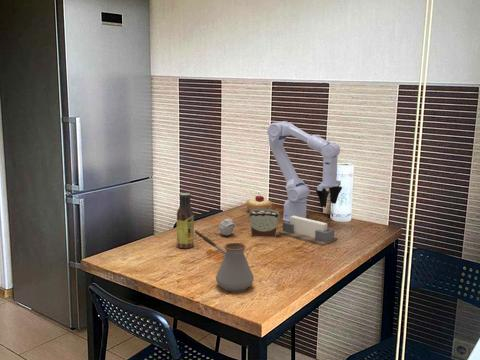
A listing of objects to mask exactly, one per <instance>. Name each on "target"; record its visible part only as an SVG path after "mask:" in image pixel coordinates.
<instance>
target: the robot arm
mask: <svg viewBox="0 0 480 360" xmlns="http://www.w3.org/2000/svg"><path fill="white" fill-rule="evenodd" d="M266 134H267V135H268V144H269V148H270V151H271V152H272V155H273V157H274V159H275V161H276V164H277V165H278V168H279V169H280V171H281V173H282V175H283V177H284V180H285V181H286V186H285V189H286V196H287V199H286V200H285V202H283V203H284V204H283V218H282V221H284V222H286V221H289V220H290V217H291V216H298V217H302V218H306V219H307V203H308V202H307V200H308V197H309V196H310V193H311V192H310V191H311V190H310V187H308V185H307V184H306V183H305V181H304V180H303V179H301V178H300V177H299V176H298V174H297V172H296V169H295V167H294V165H293V163H292V161H291V159H290V157H289V155H288V153H287V151H286V149H285V147H284V143H285V141H286V139H287V138H288V136H292V137H294V138H296V139H298V140H300V141H302V142H304V143H306V144H307V146H308V148H309V149H312V150H314V151H315V152H318V153H319V154H320V155H321V156H322V157H323V159H322V179H321V180H322V181H321V183H319V184H318V185H316V188H315V192H316V194H317V196H318V200H319V204H320V207H323V208H326V207H327V202H328V197H329V196H330V197H329V198H330V203H331V204H335V205H336V204H337V200H338V197H339V195H340V193H341V191H343V186H341V183H342V181H341V180H338V179H337V177H338V156H339V154H340V153H341V148H340V146H339V144H337V143H336V142H331V141H330V140H326V139H324V138H322V137H321V135H320V134H313V135H310V134H309V133H307V132H306V131H304V130H302V129H301V128H299V127H297V126H295V125H294V124H293V123H291V122H288V121H287V120H283V121H278V122H272V123H270V124H269V126H268V128H267V130H266ZM327 189H329V190H327Z"/></svg>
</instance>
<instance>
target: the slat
mask: <svg viewBox="0 0 480 360" xmlns="http://www.w3.org/2000/svg"><path fill="white" fill-rule="evenodd" d="M290 224H294V232H295V233H298V234H302V235H306V236H310V237H314V238H315V231H316V230H318V231H322V232H326V231H327V228H328V223H327V222H322V221H318V220H313V219H310V218H307V217H306V218H302V217H298V216H291V217H290Z"/></svg>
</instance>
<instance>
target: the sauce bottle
mask: <svg viewBox="0 0 480 360" xmlns="http://www.w3.org/2000/svg"><path fill="white" fill-rule="evenodd" d="M191 197H192V195H191V193H189V192H181V193H179V207H178V208H177V211H176V245H177V248H179V249H190V248H192V247H193V246H194V241H195V240H194V239H195V236H194V235H195V233H194V232H195V231H194V230H195V229H194V228H195V226H194V225H195V221H194V219H195V214H194V212H193V209H192V206H191ZM193 233H194V234H193ZM192 235H193V236H192Z"/></svg>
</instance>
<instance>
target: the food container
mask: <svg viewBox="0 0 480 360" xmlns="http://www.w3.org/2000/svg"><path fill="white" fill-rule="evenodd" d="M247 217H248V218H249V220H250V222H249V223H250V230H251V234H250V235H251V237H252V238H273V239H274V238H277V237H276V236H277V229H278V222H279V219H281V218H280V217H281V215H280V212H279V211H278V210H275V209H255V210H252V211H250V212H249V213H248V215H247Z"/></svg>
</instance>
